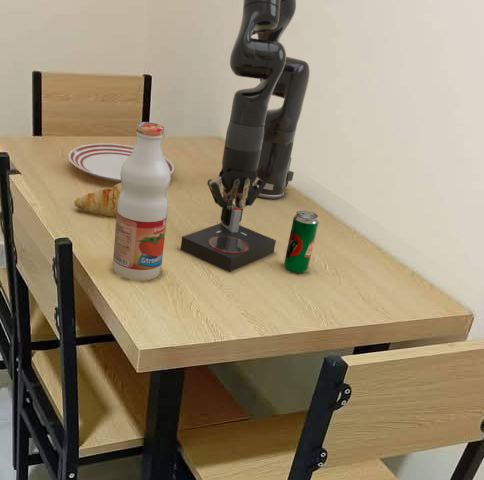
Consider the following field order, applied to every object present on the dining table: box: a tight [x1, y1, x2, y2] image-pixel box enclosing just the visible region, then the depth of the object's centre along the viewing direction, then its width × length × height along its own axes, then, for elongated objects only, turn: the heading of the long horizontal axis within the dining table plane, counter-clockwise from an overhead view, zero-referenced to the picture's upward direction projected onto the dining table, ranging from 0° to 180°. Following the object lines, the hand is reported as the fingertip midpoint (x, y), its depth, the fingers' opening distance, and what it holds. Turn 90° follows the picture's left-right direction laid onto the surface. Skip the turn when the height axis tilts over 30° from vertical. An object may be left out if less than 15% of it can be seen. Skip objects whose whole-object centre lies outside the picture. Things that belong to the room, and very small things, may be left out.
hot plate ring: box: [209, 236, 249, 254], centre depth 152 cm, size 8×8×1 cm
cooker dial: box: [220, 203, 242, 233], centre depth 159 cm, size 5×2×5 cm, turn 25°
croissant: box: [73, 183, 122, 218], centre depth 167 cm, size 21×10×8 cm, turn 109°
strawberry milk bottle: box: [112, 121, 172, 282], centre depth 136 cm, size 9×9×28 cm
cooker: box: [180, 220, 277, 273], centre depth 157 cm, size 17×15×3 cm
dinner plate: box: [67, 142, 175, 184], centre depth 191 cm, size 28×27×3 cm
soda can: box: [283, 210, 320, 274], centre depth 150 cm, size 5×5×12 cm
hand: (230, 223), depth 159 cm, fingers closed on cooker dial
